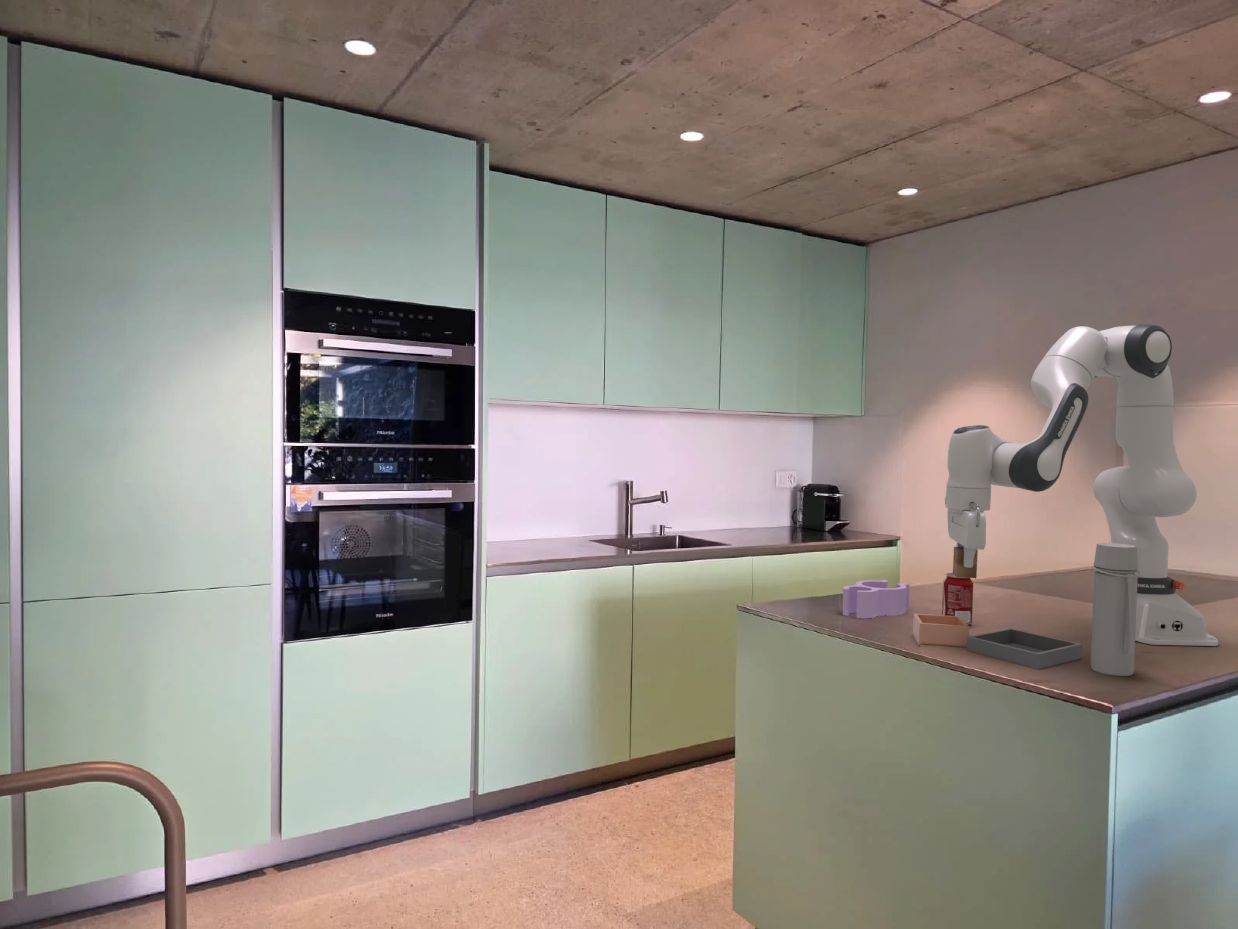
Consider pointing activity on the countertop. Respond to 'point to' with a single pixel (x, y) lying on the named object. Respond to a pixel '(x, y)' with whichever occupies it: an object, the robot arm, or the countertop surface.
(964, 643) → the peach open box
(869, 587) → the clip
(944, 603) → the soda can
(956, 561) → the block
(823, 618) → the countertop surface
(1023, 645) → the tray
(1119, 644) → the water bottle
